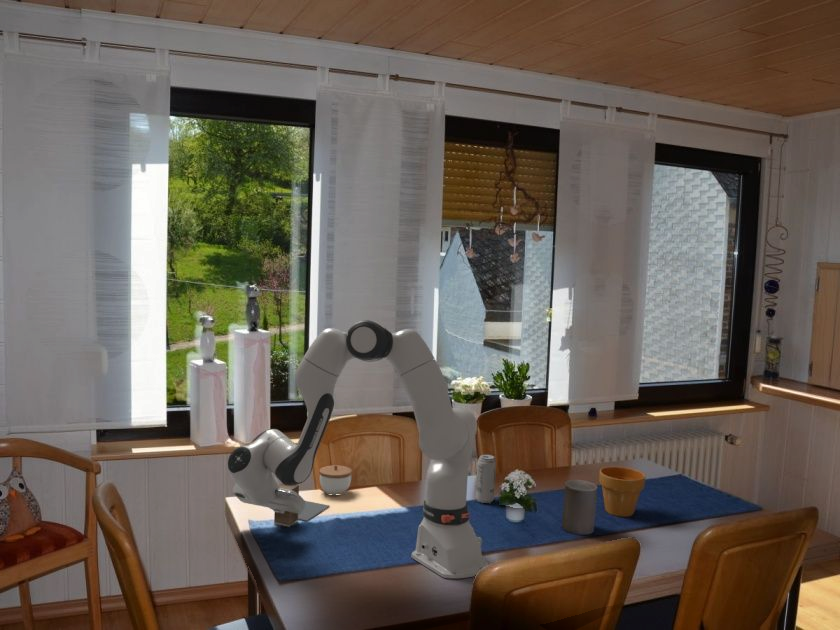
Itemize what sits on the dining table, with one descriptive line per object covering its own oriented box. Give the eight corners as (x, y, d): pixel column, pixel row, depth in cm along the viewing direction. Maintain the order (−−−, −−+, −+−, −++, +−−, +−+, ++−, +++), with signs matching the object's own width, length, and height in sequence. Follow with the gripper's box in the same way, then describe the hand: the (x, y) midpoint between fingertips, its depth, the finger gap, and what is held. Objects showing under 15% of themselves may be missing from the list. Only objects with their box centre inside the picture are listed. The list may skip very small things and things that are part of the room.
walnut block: (288, 527, 214) (290, 490, 213) (274, 524, 216) (275, 487, 215) (297, 521, 219) (299, 485, 218) (283, 518, 221) (284, 482, 220)
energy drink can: (494, 504, 241) (497, 459, 239) (475, 503, 241) (478, 458, 239) (493, 498, 247) (495, 454, 245) (475, 497, 247) (477, 453, 245)
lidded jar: (356, 491, 248) (357, 463, 247) (340, 500, 238) (341, 472, 237) (329, 485, 252) (330, 458, 251) (312, 494, 242) (313, 466, 242)
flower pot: (641, 523, 230) (644, 482, 229) (594, 515, 235) (597, 476, 233) (643, 508, 244) (646, 470, 242) (599, 501, 248) (601, 464, 247)
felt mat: (306, 521, 219) (306, 520, 219) (278, 515, 223) (278, 514, 223) (329, 506, 232) (329, 505, 232) (302, 501, 236) (302, 500, 236)
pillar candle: (554, 526, 224) (558, 478, 222) (575, 519, 230) (578, 473, 229) (580, 537, 217) (584, 488, 215) (600, 530, 223) (604, 482, 221)
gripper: (299, 483, 202) (316, 506, 212) (236, 472, 209) (255, 495, 220) (290, 504, 198) (307, 527, 208) (226, 491, 206) (246, 514, 216)
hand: (280, 510), depth 214 cm, fingers closed
